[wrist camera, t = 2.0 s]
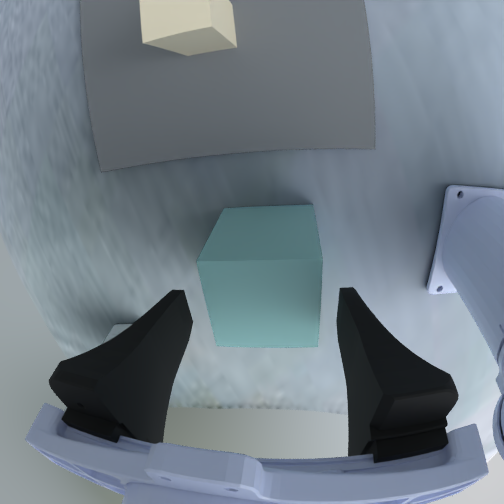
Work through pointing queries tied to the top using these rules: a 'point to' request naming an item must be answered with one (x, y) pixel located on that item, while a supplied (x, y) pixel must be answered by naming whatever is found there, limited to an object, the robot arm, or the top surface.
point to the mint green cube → (263, 277)
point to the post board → (225, 77)
